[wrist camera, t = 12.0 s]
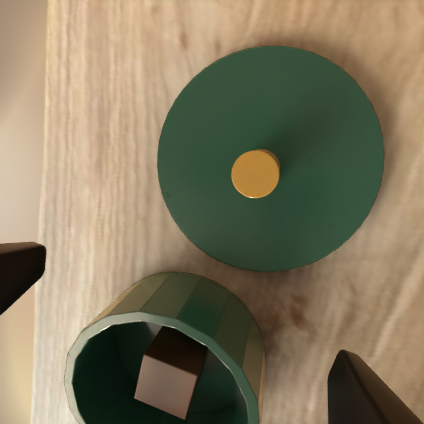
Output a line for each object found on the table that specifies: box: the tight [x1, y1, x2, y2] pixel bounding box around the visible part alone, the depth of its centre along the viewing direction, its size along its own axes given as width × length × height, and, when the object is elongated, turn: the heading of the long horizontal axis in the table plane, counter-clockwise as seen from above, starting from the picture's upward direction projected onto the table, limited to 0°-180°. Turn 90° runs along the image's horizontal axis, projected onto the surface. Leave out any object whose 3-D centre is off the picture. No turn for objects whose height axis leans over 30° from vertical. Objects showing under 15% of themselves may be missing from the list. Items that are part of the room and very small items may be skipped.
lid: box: [157, 46, 384, 272], centre depth 17 cm, size 14×14×6 cm
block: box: [134, 326, 209, 420], centre depth 22 cm, size 4×4×4 cm
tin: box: [64, 272, 266, 424], centre depth 22 cm, size 13×14×6 cm
